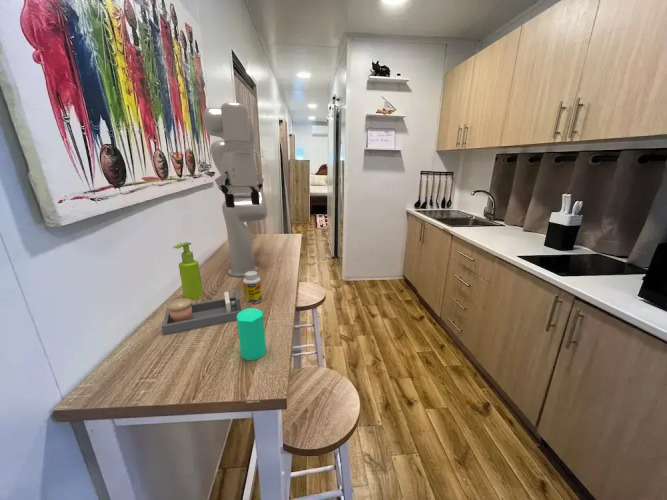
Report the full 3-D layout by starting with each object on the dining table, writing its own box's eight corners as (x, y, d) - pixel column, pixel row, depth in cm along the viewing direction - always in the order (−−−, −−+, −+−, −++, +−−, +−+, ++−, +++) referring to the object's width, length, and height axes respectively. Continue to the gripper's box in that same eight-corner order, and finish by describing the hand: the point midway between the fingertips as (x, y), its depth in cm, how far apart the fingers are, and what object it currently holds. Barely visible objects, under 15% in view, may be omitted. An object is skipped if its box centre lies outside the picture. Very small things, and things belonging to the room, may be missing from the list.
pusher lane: (169, 318, 83) (165, 297, 81) (238, 305, 91) (236, 286, 89) (164, 338, 73) (159, 314, 71) (242, 322, 81) (240, 300, 79)
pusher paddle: (225, 306, 88) (224, 292, 86) (229, 305, 88) (228, 291, 87) (227, 319, 80) (225, 303, 79) (231, 318, 81) (230, 302, 79)
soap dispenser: (178, 302, 93) (167, 245, 87) (194, 293, 99) (185, 240, 94) (191, 304, 91) (181, 246, 86) (207, 296, 97) (199, 241, 92)
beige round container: (172, 318, 81) (169, 300, 79) (194, 314, 83) (191, 296, 81) (170, 329, 76) (166, 309, 74) (193, 324, 78) (190, 305, 76)
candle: (239, 348, 69) (234, 305, 66) (263, 342, 72) (260, 300, 68) (242, 363, 64) (237, 317, 61) (268, 356, 66) (264, 311, 63)
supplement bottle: (247, 306, 90) (245, 277, 87) (243, 300, 95) (240, 272, 92) (264, 302, 93) (262, 273, 90) (258, 296, 98) (256, 268, 95)
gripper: (252, 151, 92) (256, 203, 97) (204, 147, 78) (212, 208, 83) (268, 150, 88) (272, 204, 93) (220, 145, 74) (227, 209, 79)
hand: (243, 205), depth 88 cm, fingers open, 9 cm apart
